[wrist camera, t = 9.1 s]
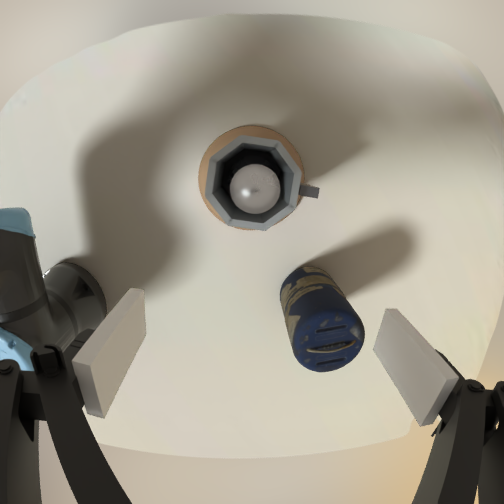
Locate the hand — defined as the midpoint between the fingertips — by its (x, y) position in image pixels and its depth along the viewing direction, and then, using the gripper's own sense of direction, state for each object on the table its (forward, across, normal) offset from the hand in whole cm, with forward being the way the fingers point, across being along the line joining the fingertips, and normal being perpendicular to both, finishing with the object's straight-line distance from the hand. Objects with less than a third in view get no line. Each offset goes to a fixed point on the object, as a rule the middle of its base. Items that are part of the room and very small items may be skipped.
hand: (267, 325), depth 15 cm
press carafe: (+33, -1, +6) cm, 33 cm away
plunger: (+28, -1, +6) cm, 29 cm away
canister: (+33, +10, -12) cm, 37 cm away
